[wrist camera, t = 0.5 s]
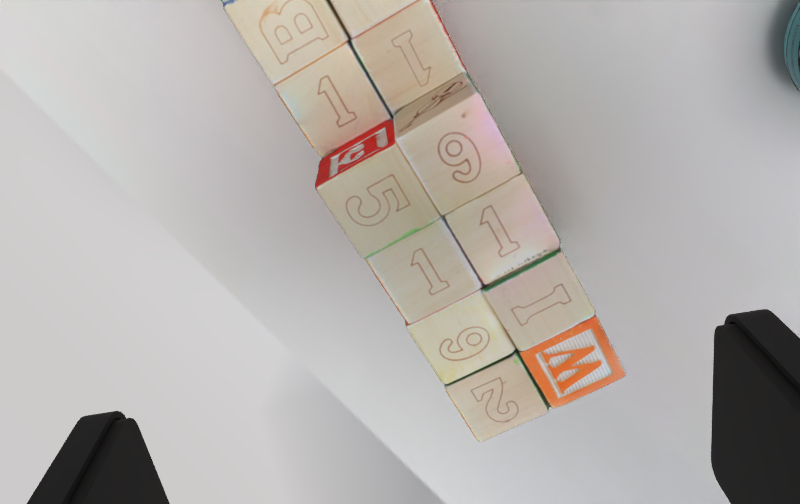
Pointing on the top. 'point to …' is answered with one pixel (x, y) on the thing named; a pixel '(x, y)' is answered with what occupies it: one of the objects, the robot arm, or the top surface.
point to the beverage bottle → (793, 46)
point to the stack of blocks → (434, 202)
